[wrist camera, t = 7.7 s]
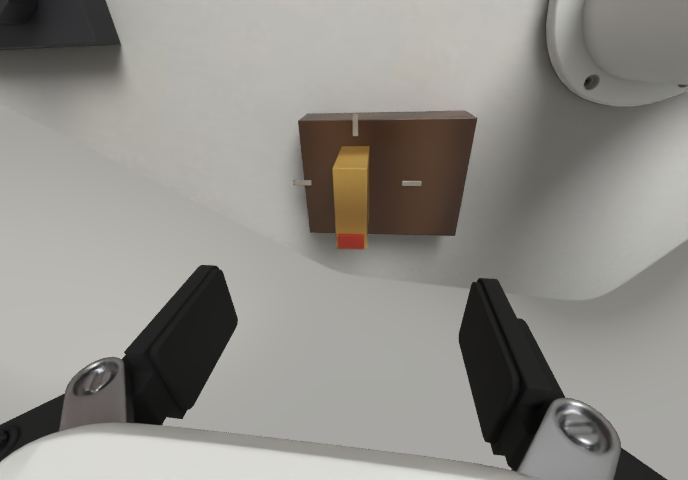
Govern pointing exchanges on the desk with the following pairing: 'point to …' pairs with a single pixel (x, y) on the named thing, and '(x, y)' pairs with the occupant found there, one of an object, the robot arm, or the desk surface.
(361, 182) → the handle
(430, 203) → the plate
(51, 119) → the desk surface
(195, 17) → the desk surface
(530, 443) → the robot arm
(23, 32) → the button box
